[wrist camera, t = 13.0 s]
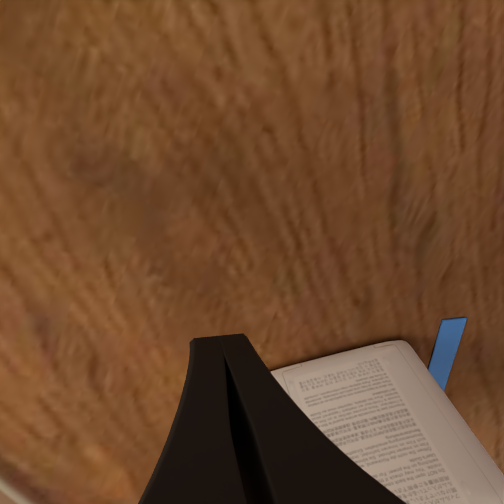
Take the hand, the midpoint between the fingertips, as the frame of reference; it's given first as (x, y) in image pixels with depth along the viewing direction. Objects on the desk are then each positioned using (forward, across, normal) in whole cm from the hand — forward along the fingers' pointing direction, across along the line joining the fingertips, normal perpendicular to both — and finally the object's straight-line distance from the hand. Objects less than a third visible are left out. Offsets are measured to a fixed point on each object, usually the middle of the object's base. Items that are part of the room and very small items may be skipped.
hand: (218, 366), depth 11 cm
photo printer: (+11, -8, +12) cm, 18 cm away
